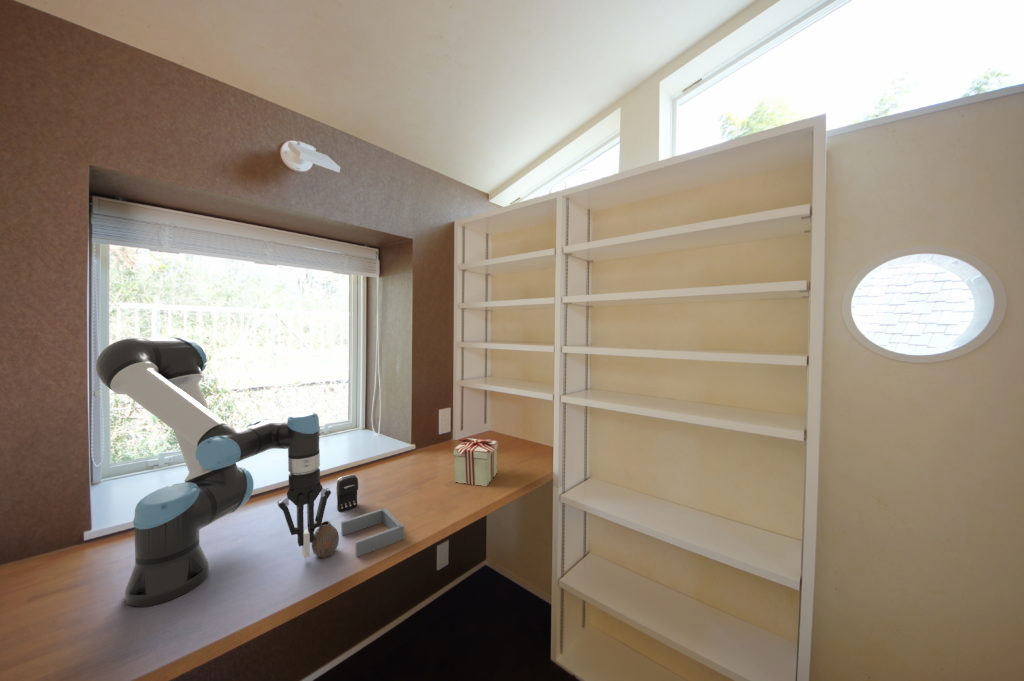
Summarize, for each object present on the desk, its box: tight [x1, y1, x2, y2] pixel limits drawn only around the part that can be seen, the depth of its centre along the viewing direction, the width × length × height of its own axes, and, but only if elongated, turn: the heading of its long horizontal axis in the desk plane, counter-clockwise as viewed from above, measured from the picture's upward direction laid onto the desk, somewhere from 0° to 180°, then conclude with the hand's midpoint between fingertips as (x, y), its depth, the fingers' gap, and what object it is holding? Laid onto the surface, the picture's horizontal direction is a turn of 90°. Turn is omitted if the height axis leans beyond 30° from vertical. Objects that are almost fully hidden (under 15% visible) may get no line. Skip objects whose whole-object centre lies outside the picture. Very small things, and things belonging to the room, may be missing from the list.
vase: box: [311, 520, 340, 559], centre depth 103 cm, size 7×7×9 cm
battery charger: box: [335, 474, 359, 512], centre depth 130 cm, size 7×4×11 cm, turn 130°
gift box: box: [453, 437, 499, 487], centre depth 155 cm, size 17×18×17 cm
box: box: [340, 507, 405, 558], centre depth 112 cm, size 14×15×4 cm
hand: (306, 555), depth 100 cm, fingers closed
